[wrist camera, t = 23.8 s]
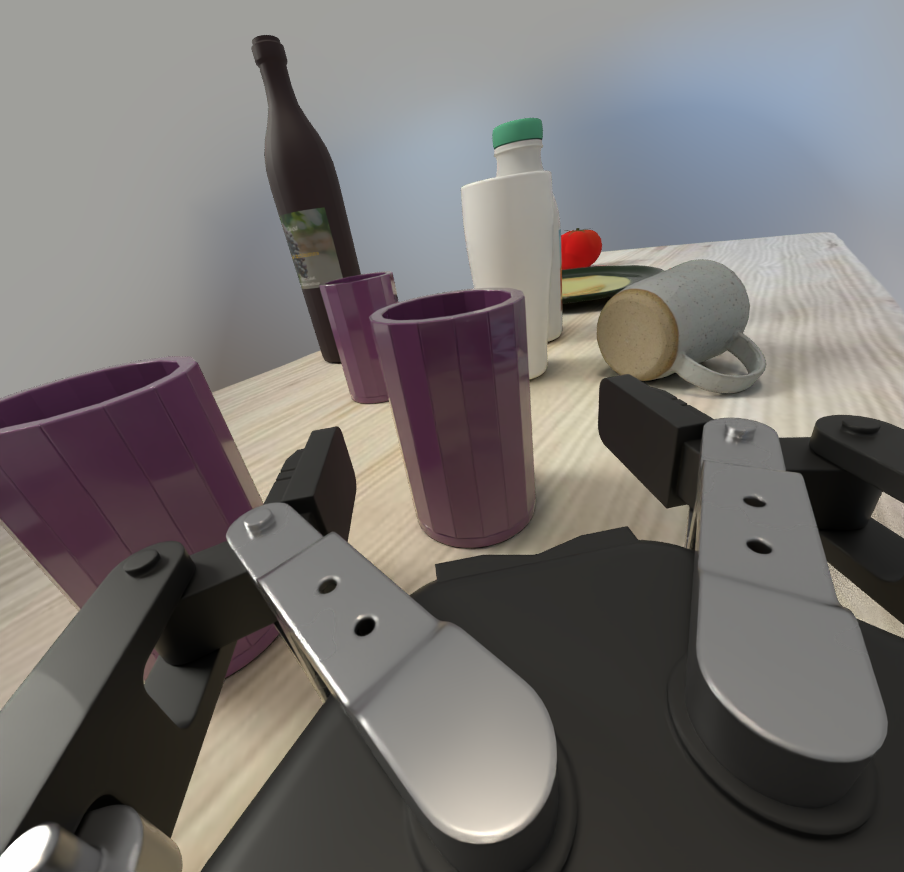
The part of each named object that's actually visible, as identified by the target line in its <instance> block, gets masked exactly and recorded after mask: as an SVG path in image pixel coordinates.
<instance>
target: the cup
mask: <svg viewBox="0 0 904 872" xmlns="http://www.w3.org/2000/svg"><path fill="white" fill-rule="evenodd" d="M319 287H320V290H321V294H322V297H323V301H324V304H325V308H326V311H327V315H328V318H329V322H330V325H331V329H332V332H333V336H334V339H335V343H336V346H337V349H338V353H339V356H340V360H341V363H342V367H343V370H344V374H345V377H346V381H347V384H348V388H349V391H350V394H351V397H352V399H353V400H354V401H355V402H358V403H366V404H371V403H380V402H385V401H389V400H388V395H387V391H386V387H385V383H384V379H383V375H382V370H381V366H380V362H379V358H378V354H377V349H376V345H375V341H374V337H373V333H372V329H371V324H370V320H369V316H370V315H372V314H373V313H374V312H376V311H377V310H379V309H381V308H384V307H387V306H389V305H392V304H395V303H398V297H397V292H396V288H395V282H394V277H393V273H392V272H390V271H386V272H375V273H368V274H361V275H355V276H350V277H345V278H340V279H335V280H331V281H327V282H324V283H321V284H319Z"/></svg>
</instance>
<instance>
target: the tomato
mask: <svg viewBox="0 0 904 872" xmlns="http://www.w3.org/2000/svg"><path fill="white" fill-rule="evenodd" d="M601 250H602V243H601V238H600V237H599V236H598V234H597V233H596V232H595V231H593V230H579V228H577V229H576V230H575V231H574V230H573V231H569V232H567V233H565V234H564V235H561V260H562V270H565V269H573V268H582V267H589V266H591V265H592V264H593V263H594V262H595V261H596V260H597V259H598V257H599V255H600V253H601Z"/></svg>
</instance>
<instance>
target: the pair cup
mask: <svg viewBox="0 0 904 872" xmlns="http://www.w3.org/2000/svg"><path fill="white" fill-rule="evenodd" d="M262 505H263V501H262V499H261V497H260V495H259V493H258V491H257V489H256V487H255V484H254V482H253V480H252V478H251V476H250V474H249V472H248V469H247V467H246V465H245V463H244V461H243V459H242V457H241V454H240V452H239V450H238V448H237V446H236V444H235V442H234V439H233V437H232V435H231V433H230V431H229V429H228V427H227V424H226V422H225V420H224V418H223V416H222V414H221V412H220V409H219V407H218V405H217V403H216V401H215V399H214V397H213V395H212V392H211V390H210V388H209V386H208V384H207V382H206V380H205V377H204V375H203V373H202V371H201V369H200V367H199V365H198V363H197V362H196V361H195V360H194V359H193V358H192V357H180V356H172V357H162V358H154V359H146V360H140V361H135V362H130V363H125V364H120V365H115V366H110V367H107V368H102V369H97V370H93V371H90V372H85V373H81V374H78V375H74V376H70V377H66V378H62V379H59V380H55V381H53V382H49V383H46V384H42V385H39V386H36V387H33V388H29V389H26V390H23V391H21V392H16V393H14V394H11V395H8V396H5V397H3V398H0V525H1V526H2V527H3V528H4V529H5V530H6V531H7V532H8V534H9V535H10V536H11V537H12V538H13V539H14V540H15V541H16V542H17V544H18V545H19V546H20V547H21V548H22V549H23V550H24V551H25V552H26V554H27V555H28V556H29V557H30V558H31V559H32V560H33V561H34V563H35V564H36V565H37V566H38V567H39V568H40V569H41V570H42V571H43V573H44V574H45V575H46V576H47V577H48V578H49V579H50V580H51V581H52V583H53V584H54V585H55V586H56V587H57V588H58V589H59V590H60V592H61V593H62V594H63V595H64V596H65V597H66V598H67V599H68V600H69V602H70V603H71V604H72V605H73V606H74V607H75V608H76V609H77V611H78V612H79V611H80V609H81V608H82V607H83V606H84V604H85V603H86V602H87V601H88V599H89V598H90V597H91V596H92V594H93V593H94V592H95V591H96V589H97V588H98V587H99V585H100V584H101V583H102V582H103V580H104V579H105V578H106V577H107V575H108V574H109V573H110V572H111V571H112V570H113V569H114V568H115V567H116V566H117V565H118V564H119V563H121V562H122V561H123V560H125V559H126V558H128V557H129V556H131V555H132V554H134V553H136V552H138V551H139V550H141V549H144V548H146V547H148V546H151V545H153V544H157V543H160V542H165V541H177V542H180V543H181V544H182V545H183V546H184V548H185V549H186V551H187V552H188V554H189V555H192V554H194V553H197V552H199V551H202V550H205V549H207V548H210V547H212V546H215V545H217V544H220V543H222V542H225V541H227V539H226V533H227V530H228V529H229V527H230V526H231V524H232V523H233V522H234V521H235V520H236V519H238V518H239V517H240V516H242V515H243V514H244V513H246V512H248V511H250V510H252V509H254V508H256V507H259V506H262ZM278 635H279V632H278V631H277V629H276V628H275V626H274V624H271V625H269V626H267V627H264V628H262V629H260V630H258V631H256V632H254V633H252V634H250V635H247V636H245V637H243V638H241V639H239V640H237V644H236V647H235V650H234V652H233V655H232V658H231V661H230V664H229V667H228V670H227V673H226V676H225V678H226V677H228V676H230V675H232V674H233V673H235V672H236V671H238V670H240V669H241V668H243V667H244V666H245V665H247V664H248V663H250V662H251V661H252V660H253V659H255V658H256V657H257V656H258V655H259V654H261V653H262V652H263V651H264V650H265V649H266V648H267V647H268V646H269V645H270V644H271V643H272V642H273V641H274V639H275V638H276V637H277V636H278ZM158 656H159V653H158V652H157V651H156V650H155V648H154V649H153V651H152V653H151V655H150V656H149V658H148V660H147V663H146V665H145V669H144V675H143V681H144V683H145V681H146V679H147V677H148V675H149V673H150V671H151V669H152V668H153V666H154V664H155V662H156V660H157V658H158Z"/></svg>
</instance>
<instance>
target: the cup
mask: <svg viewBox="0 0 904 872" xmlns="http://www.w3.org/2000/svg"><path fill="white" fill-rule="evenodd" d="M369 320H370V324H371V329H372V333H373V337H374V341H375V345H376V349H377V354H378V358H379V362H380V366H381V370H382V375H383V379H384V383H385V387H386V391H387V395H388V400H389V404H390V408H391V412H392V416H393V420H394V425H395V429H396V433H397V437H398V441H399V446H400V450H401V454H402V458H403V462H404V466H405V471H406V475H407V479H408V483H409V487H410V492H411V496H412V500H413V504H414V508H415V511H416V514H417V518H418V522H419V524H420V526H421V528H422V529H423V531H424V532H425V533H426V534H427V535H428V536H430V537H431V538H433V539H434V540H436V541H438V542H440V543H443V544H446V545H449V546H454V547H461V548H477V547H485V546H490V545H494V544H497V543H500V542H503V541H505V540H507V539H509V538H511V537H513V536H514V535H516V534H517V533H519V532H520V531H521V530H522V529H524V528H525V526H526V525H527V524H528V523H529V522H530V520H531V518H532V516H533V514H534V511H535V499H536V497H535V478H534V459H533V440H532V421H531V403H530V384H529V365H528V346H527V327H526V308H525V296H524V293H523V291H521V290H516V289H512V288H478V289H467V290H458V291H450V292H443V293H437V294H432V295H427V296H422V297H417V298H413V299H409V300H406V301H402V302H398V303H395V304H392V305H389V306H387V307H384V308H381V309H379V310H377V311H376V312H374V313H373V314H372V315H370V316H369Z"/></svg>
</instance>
